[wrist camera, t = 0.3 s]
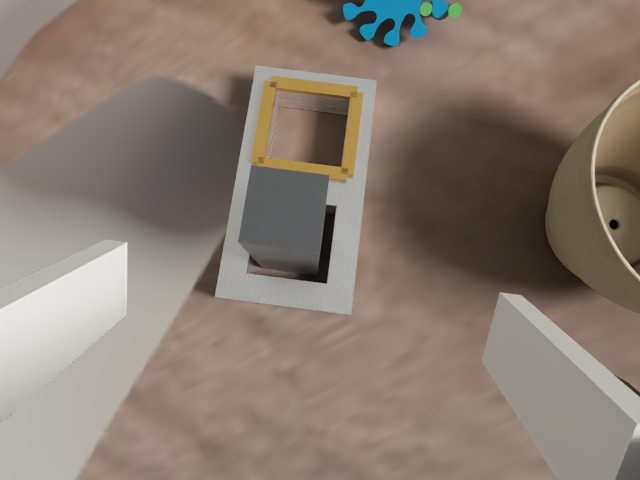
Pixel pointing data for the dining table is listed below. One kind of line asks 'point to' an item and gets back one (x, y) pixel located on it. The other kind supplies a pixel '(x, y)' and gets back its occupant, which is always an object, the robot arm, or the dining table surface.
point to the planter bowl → (601, 203)
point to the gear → (401, 15)
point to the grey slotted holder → (344, 181)
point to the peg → (284, 219)
